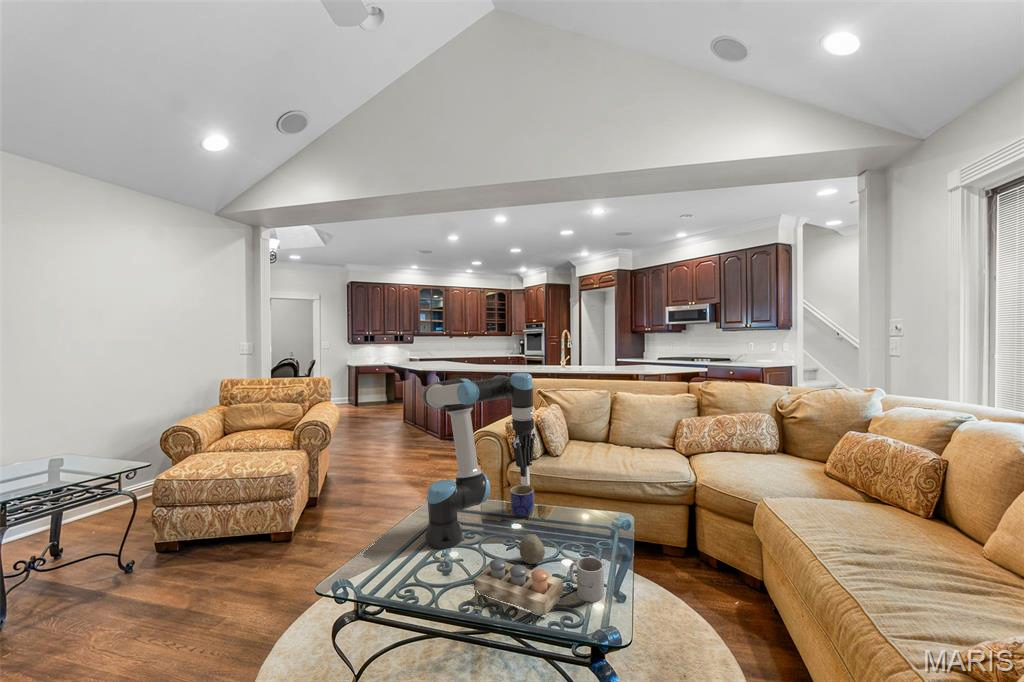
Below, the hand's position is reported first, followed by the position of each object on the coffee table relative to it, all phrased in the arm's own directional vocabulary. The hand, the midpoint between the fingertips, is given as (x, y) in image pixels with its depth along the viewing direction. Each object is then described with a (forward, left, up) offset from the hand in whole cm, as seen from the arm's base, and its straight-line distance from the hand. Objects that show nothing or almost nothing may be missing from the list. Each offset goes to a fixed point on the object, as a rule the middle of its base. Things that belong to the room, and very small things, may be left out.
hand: (525, 484), depth 158 cm
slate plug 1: (-5, -12, -31) cm, 34 cm away
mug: (+22, 0, -33) cm, 39 cm away
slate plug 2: (+3, -12, -31) cm, 33 cm away
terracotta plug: (+11, -12, -30) cm, 34 cm away
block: (+3, -12, -32) cm, 35 cm away
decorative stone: (-2, +6, -33) cm, 33 cm away
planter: (-24, +38, -33) cm, 56 cm away
